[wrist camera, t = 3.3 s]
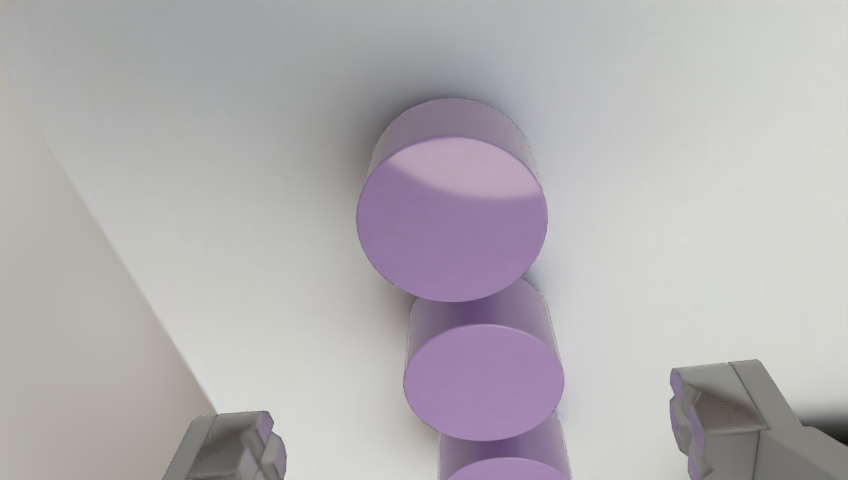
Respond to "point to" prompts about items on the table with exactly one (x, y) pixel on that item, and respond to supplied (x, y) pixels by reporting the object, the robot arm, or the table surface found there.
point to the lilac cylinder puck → (483, 364)
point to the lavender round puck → (452, 202)
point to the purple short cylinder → (507, 456)
